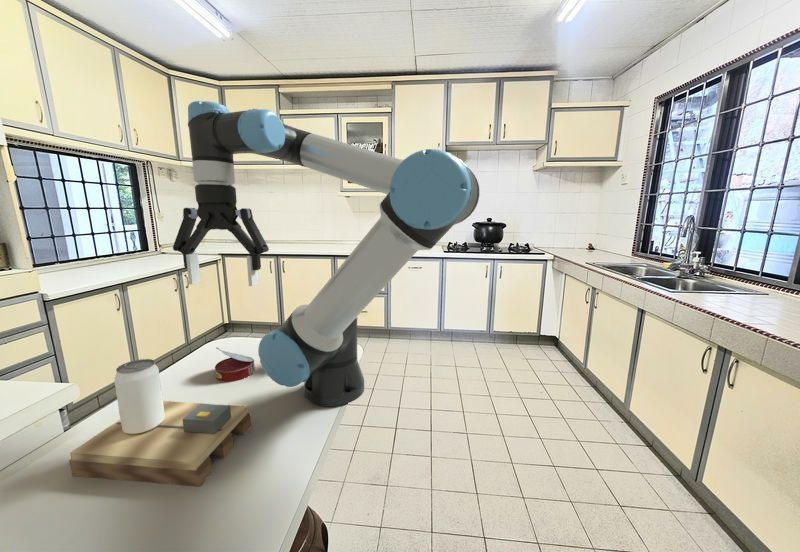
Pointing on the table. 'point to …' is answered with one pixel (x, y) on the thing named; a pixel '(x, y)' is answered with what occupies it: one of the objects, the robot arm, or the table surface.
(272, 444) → the table surface
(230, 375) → the canned food
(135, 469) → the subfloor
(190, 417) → the block
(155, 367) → the can
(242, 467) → the table surface
